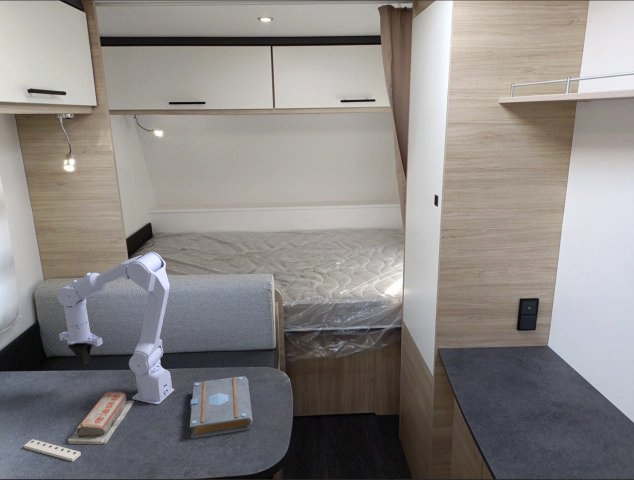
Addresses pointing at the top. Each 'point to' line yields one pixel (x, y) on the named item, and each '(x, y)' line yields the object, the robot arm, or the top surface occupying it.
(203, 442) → the top surface
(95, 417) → the packaged product
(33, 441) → the perforated board
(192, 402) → the book
